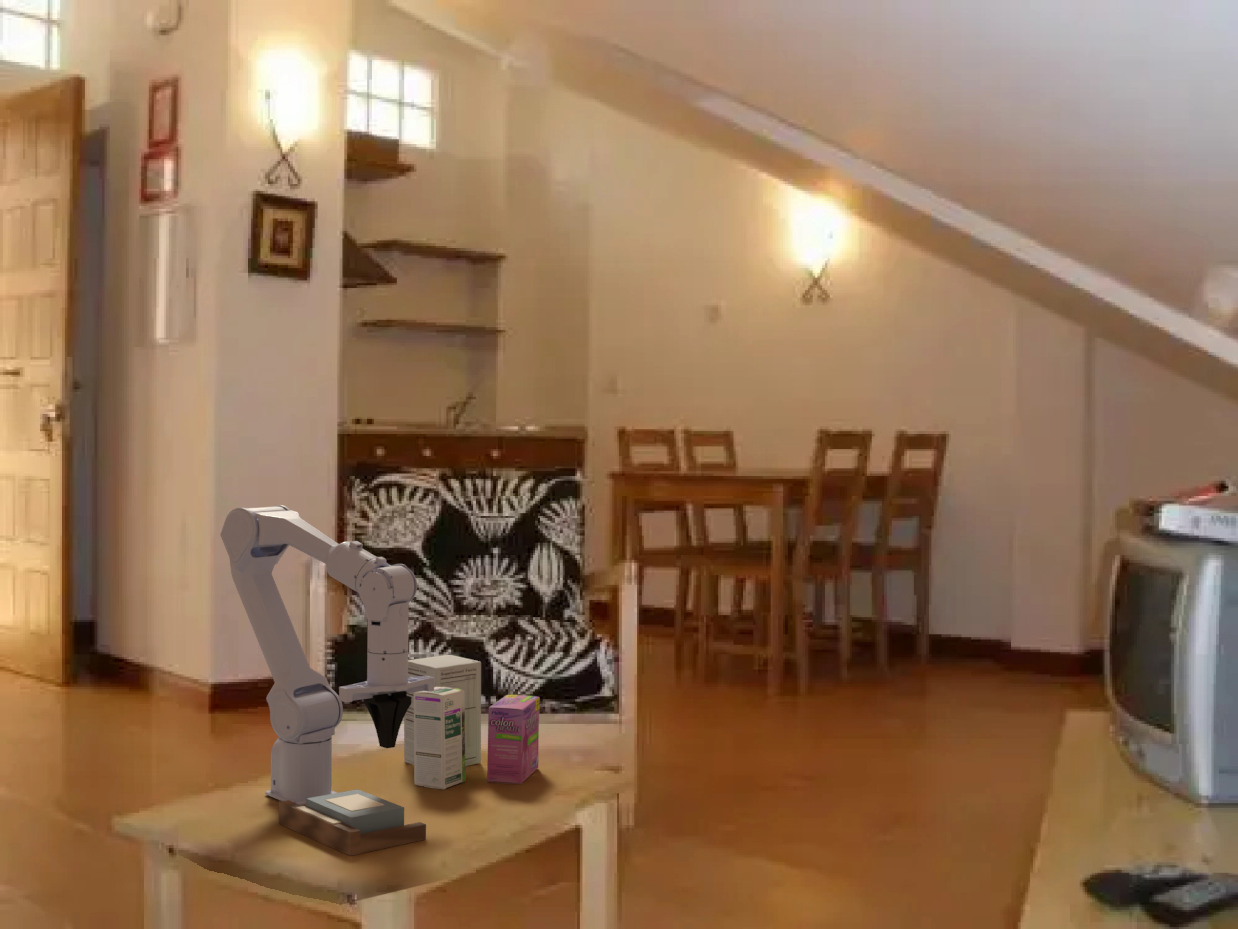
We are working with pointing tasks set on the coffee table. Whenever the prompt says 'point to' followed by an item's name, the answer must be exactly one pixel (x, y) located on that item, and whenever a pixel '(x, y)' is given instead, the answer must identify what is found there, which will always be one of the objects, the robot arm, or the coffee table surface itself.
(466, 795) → the coffee table surface
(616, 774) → the coffee table surface
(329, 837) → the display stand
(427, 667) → the supplement box
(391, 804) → the carton
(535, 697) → the box
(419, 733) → the syrup box
